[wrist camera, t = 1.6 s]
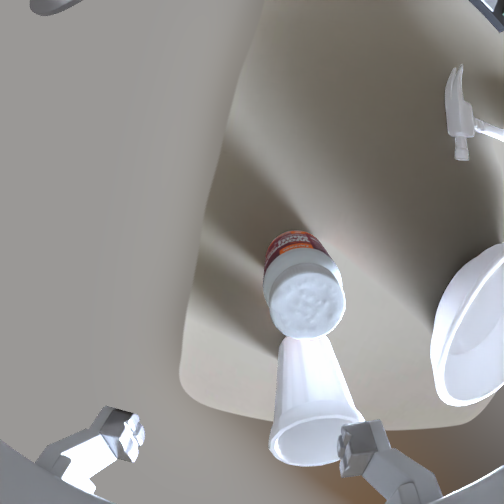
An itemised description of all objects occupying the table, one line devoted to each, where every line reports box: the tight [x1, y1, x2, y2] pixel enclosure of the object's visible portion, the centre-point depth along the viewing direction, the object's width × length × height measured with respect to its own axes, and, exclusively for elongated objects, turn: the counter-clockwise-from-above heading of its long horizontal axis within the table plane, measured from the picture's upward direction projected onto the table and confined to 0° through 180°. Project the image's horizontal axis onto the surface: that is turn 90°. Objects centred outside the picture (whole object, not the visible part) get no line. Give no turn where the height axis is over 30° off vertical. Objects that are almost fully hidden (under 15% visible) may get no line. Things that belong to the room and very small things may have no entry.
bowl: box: [431, 243, 504, 406], centre depth 24 cm, size 22×22×8 cm
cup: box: [268, 335, 364, 466], centre depth 24 cm, size 8×8×14 cm
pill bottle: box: [263, 230, 345, 340], centre depth 23 cm, size 6×6×11 cm
